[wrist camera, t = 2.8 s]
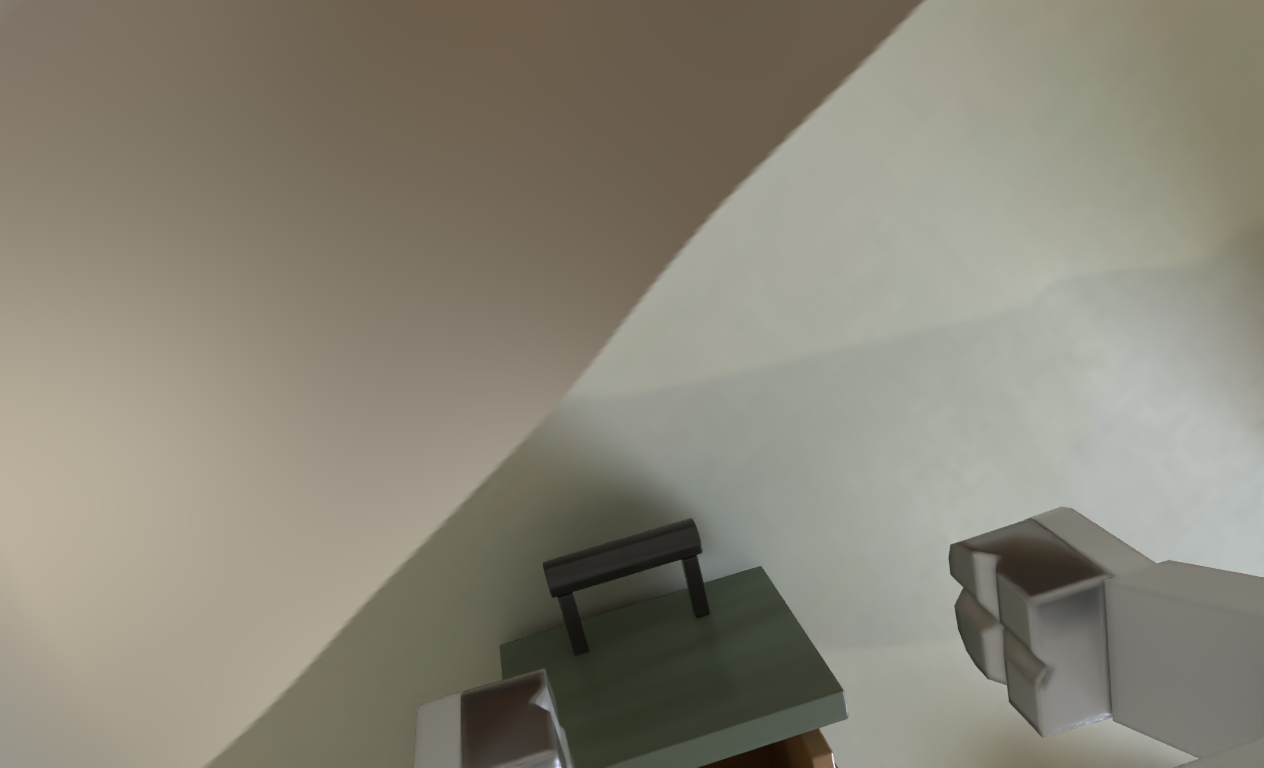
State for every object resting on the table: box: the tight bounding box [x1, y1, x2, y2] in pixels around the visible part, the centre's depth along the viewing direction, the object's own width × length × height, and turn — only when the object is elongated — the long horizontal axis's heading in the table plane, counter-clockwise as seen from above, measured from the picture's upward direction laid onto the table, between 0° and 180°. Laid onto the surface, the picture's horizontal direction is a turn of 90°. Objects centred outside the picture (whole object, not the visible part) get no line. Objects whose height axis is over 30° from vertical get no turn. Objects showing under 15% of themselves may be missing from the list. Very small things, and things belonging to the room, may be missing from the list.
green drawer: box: [500, 518, 848, 768], centre depth 36 cm, size 17×11×9 cm, turn 13°
